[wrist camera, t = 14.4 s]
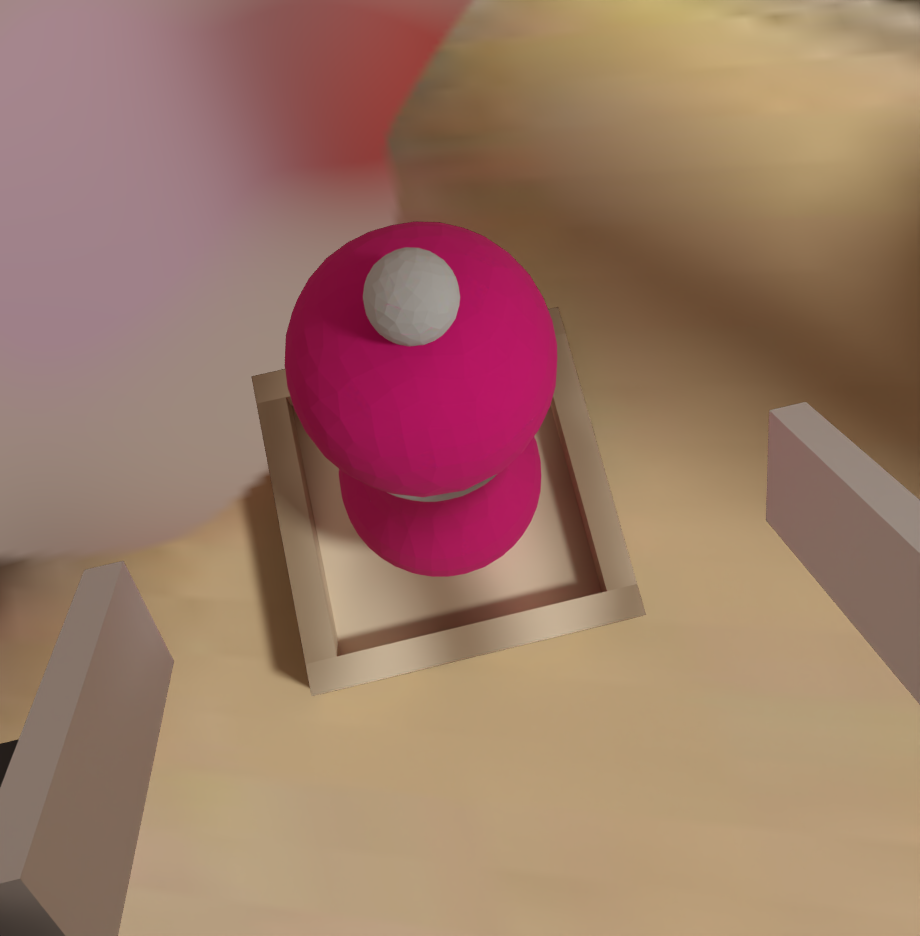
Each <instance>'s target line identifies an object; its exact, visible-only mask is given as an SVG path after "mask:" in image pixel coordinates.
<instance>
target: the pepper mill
mask: <svg viewBox="0 0 920 936" xmlns="http://www.w3.org/2000/svg"><path fill="white" fill-rule="evenodd" d="M285 371H286V379H287V387H288V390H289V393H290V397H291V400H292V403H293V406H294V410H295V412H296V414H297V416H298V418H299V420H300V422H301V424H302V426H303V428H304V430H305V432H306V433H307V434H308V436H309V437H310V438H311V440H312V441H313V442H314V443H315V445H316V446H317V447H318V449H319V450H320V451H321V453H322V454H323V455H324V457H326V458H327V459H328V460H329V461H330V462H332V463H333V464H334V465H335V466H336V467H338V468H339V481H340V488H341V495H342V500H343V503H344V506H345V509H346V512H347V514H348V517H349V519H350V522H351V524H352V525H353V527H354V529H355V530H356V532H357V534H358V535H359V537H360V538H361V539H362V540H363V541H364V542H365V544H366V545H367V546H368V547H369V548H370V549H371V550H372V551H373V552H375V553H376V554H377V555H378V556H379V557H381V558H382V559H384V560H385V561H387V562H389V563H390V564H392V565H394V566H395V567H398V568H401V569H403V570H406V571H408V572H411V573H414V574H419V575H425V576H431V577H449V576H455V575H462V574H466V573H469V572H472V571H475V570H478V569H481V568H484V567H486V566H487V565H489V564H490V563H492V562H494V561H495V560H497V559H499V558H500V557H502V556H503V555H504V554H505V553H506V552H507V551H509V550H510V549H511V548H512V547H513V546H514V545H515V544H516V543H517V541H518V540H519V539H520V538H521V537H522V535H523V534H524V533H525V531H526V529H527V527H528V526H529V524H530V522H531V521H532V518H533V516H534V513H535V511H536V508H537V505H538V501H539V496H540V492H541V460H540V455H539V450H538V446H537V441H536V439H535V437H534V436H535V434H536V433H537V432H538V430H539V428H540V427H541V425H542V423H543V420H544V418H545V416H546V414H547V412H548V410H549V408H550V405H551V401H552V398H553V394H554V390H555V387H556V375H557V341H556V336H555V331H554V326H553V321H552V318H551V316H550V313H549V311H548V308H547V306H546V303H545V301H544V298H543V296H542V295H541V293H540V291H539V290H538V288H537V286H536V285H535V283H534V281H533V280H532V278H531V276H530V275H529V274H528V273H527V272H526V270H525V269H524V268H523V267H522V266H521V265H520V264H519V263H518V262H517V261H516V260H515V259H514V258H513V257H512V256H511V255H510V254H509V253H508V252H507V251H505V250H504V249H502V248H501V247H499V246H498V245H496V244H495V243H493V242H492V241H490V240H489V239H487V238H486V237H484V236H482V235H480V234H477V233H475V232H472V231H470V230H468V229H465V228H462V227H458V226H453V225H449V224H444V223H440V222H409V223H403V224H397V225H391V226H387V227H384V228H381V229H377V230H374V231H371V232H368V233H366V234H364V235H362V236H360V237H358V238H356V239H354V240H352V241H350V242H348V243H346V244H345V245H344V246H342V247H341V248H340V249H338V250H337V251H336V252H334V253H333V254H332V255H330V256H329V257H328V258H326V260H325V261H324V262H323V263H322V264H321V265H320V266H319V268H318V269H317V270H316V271H315V272H314V273H313V275H312V276H311V277H310V278H309V280H308V282H307V283H306V285H305V287H304V289H303V290H302V292H301V294H300V296H299V298H298V300H297V302H296V304H295V307H294V309H293V312H292V315H291V319H290V323H289V326H288V330H287V334H286V349H285Z"/></svg>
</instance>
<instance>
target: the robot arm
mask: <svg viewBox="0 0 920 936" xmlns="http://www.w3.org/2000/svg"><path fill="white" fill-rule="evenodd" d="M766 521H767V522H768V523H769V524H770V525H771V527H772V528H773V529H774V530H775V531H776V533H777V534H778V535H779V536H780V537H781V539H782V540H783V541H784V542H785V543H786V545H787V546H788V547H789V548H790V549H791V551H792V552H793V553H794V554H795V555H796V557H797V558H798V559H799V560H800V561H801V563H802V564H803V565H804V566H805V567H806V569H807V570H808V571H809V572H810V573H811V575H812V576H813V577H814V578H815V579H816V581H817V582H818V583H819V584H820V585H821V587H822V588H823V589H824V590H825V591H826V593H827V594H828V595H829V596H830V597H831V599H832V600H833V601H834V602H835V603H836V605H837V606H838V607H839V608H840V609H841V611H842V612H843V613H844V614H845V615H846V617H847V618H848V619H849V620H850V621H851V623H852V624H853V625H854V626H855V627H856V629H857V630H858V631H859V632H860V633H861V635H862V636H863V637H864V638H865V639H866V641H867V642H868V643H869V644H870V645H871V647H872V648H873V649H874V650H875V651H876V653H877V654H878V655H879V656H880V657H881V659H882V660H883V661H884V662H885V663H886V665H887V666H888V667H889V668H890V669H891V671H892V672H893V673H894V674H895V675H896V677H897V678H898V679H899V680H900V681H901V683H902V684H903V685H904V686H905V687H906V689H907V690H908V691H909V692H910V693H911V695H912V696H913V697H914V698H915V699H916V701H917V702H918V703H919V704H920V500H919V499H918V498H917V497H916V496H914V495H913V494H912V493H911V492H910V491H909V490H908V489H906V488H905V487H904V486H903V485H902V484H901V483H899V482H898V481H897V480H896V479H895V478H894V477H892V476H891V475H890V474H889V473H888V472H887V471H885V470H884V469H883V468H882V467H881V466H880V465H879V464H877V463H876V462H875V461H874V460H873V459H872V458H870V457H869V456H868V455H867V454H866V453H865V452H863V451H862V450H861V449H860V448H859V447H858V446H856V445H855V444H854V443H853V442H852V441H851V440H850V439H848V438H847V437H846V436H845V435H844V434H843V433H841V432H840V431H839V430H838V429H837V428H836V427H834V426H833V425H832V424H831V423H830V422H829V421H828V420H826V419H825V418H824V417H823V416H822V415H821V414H819V413H818V412H817V411H816V410H815V409H814V408H812V407H811V406H810V405H809V404H808V403H807V402H803V403H799V404H794V405H790V406H786V407H781V408H777V409H773V410H769V436H768V469H767V502H766ZM173 663H174V660H173V658H172V656H171V654H170V652H169V650H168V648H167V646H166V644H165V642H164V640H163V638H162V637H161V635H160V633H159V631H158V629H157V627H156V625H155V623H154V621H153V619H152V617H151V615H150V613H149V611H148V609H147V607H146V605H145V603H144V601H143V599H142V597H141V595H140V593H139V591H138V589H137V587H136V585H135V583H134V581H133V579H132V577H131V575H130V573H129V571H128V569H127V567H126V565H125V563H124V561H120V562H116V563H112V564H108V565H103V566H99V567H95V568H90V569H86V570H84V572H83V575H82V577H81V580H80V582H79V585H78V588H77V590H76V593H75V595H74V598H73V601H72V603H71V606H70V608H69V611H68V614H67V616H66V619H65V621H64V624H63V626H62V629H61V632H60V634H59V637H58V639H57V642H56V645H55V647H54V650H53V652H52V655H51V658H50V660H49V663H48V665H47V668H46V670H45V673H44V676H43V678H42V681H41V683H40V686H39V689H38V691H37V694H36V696H35V699H34V702H33V704H32V707H31V709H30V712H29V714H28V717H27V720H26V722H25V725H24V727H23V730H22V733H21V735H20V738H19V740H14V741H10V742H6V743H2V744H0V936H118V933H119V928H120V923H121V918H122V913H123V908H124V903H125V898H126V893H127V888H128V884H129V879H130V874H131V869H132V864H133V859H134V854H135V849H136V844H137V839H138V835H139V830H140V825H141V820H142V815H143V810H144V805H145V800H146V795H147V790H148V786H149V781H150V776H151V771H152V766H153V761H154V756H155V751H156V746H157V741H158V737H159V732H160V727H161V722H162V717H163V712H164V707H165V702H166V697H167V692H168V687H169V683H170V678H171V673H172V668H173Z"/></svg>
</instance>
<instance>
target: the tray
mask: <svg viewBox="0 0 920 936" xmlns="http://www.w3.org/2000/svg"><path fill="white" fill-rule="evenodd" d="M548 311H549V313H550V316H551V318H552V321H553V326H554V331H555V336H556V341H557V375H556V387H555V390H554V394H553V398H552V401H551V405H550V408H549V410H548V412H547V414H546V416H545V418H544V420H543V423H542V425H541V427H540V428H539V430H538V432H537V433H536V434H535V436H534V437H535V439H536V441H537V446H538V450H539V455H540V460H541V492H540V496H539V501H538V505H537V508H536V511H535V513H534V516H533V518H532V521H531V522H530V524H529V526H528V527H527V529H526V531H525V533H524V534H523V535H522V537H521V538H520V539H519V540H518V541H517V543H516V544H515V545H514V546H513V547H512V548H511V549H510V550H509V551H507V552H506V553H505V554H504V555H503V556H502V557H500V558H499V559H497V560H495V561H494V562H492V563H490V564H489V565H487V566H486V567H484V568H481V569H478V570H475V571H472V572H469V573H466V574H462V575H455V576H449V577H431V576H425V575H419V574H414V573H411V572H408V571H406V570H403V569H401V568H398V567H395V566H394V565H392V564H390V563H389V562H387V561H385V560H384V559H382V558H381V557H379V556H378V555H377V554H376V553H375V552H373V551H372V550H371V549H370V548H369V547H368V546H367V545H366V544H365V542H364V541H363V540H362V539H361V538H360V537H359V535H358V534H357V532H356V530H355V529H354V527H353V525H352V524H351V522H350V519H349V517H348V514H347V512H346V509H345V506H344V503H343V500H342V495H341V488H340V481H339V468H338V467H336V466H335V465H334V464H333V463H332V462H330V461H329V460H328V459H327V458H326V457H324V455H323V454H322V453H321V451H320V450H319V449H318V447H317V446H316V445H315V443H314V442H313V441H312V440H311V438H310V437H309V436H308V434H307V433H306V432H305V430H304V428H303V426H302V424H301V422H300V420H299V418H298V416H297V414H296V412H295V410H294V406H293V403H292V400H291V397H290V393H289V390H288V387H287V379H286V371H285V369H282V370H278V371H274V372H269V373H265V374H260V375H256V376H252V382H253V386H254V392H255V398H256V403H257V408H258V414H259V419H260V424H261V429H262V435H263V440H264V446H265V451H266V456H267V462H268V467H269V472H270V478H271V483H272V488H273V494H274V499H275V504H276V510H277V515H278V520H279V526H280V531H281V536H282V542H283V547H284V552H285V557H286V563H287V568H288V573H289V579H290V584H291V589H292V595H293V600H294V605H295V611H296V616H297V621H298V627H299V632H300V637H301V643H302V648H303V653H304V659H305V664H306V669H307V675H308V680H309V685H310V691H311V696H314V695H319V694H324V693H328V692H332V691H336V690H340V689H344V688H348V687H352V686H356V685H361V684H365V683H369V682H373V681H377V680H381V679H385V678H389V677H393V676H398V675H402V674H406V673H410V672H414V671H418V670H422V669H426V668H430V667H435V666H439V665H443V664H447V663H451V662H455V661H459V660H463V659H467V658H472V657H476V656H480V655H484V654H488V653H492V652H496V651H500V650H504V649H509V648H513V647H517V646H521V645H525V644H529V643H533V642H537V641H541V640H546V639H550V638H554V637H558V636H562V635H566V634H570V633H574V632H578V631H582V630H587V629H591V628H595V627H599V626H603V625H607V624H611V623H615V622H619V621H624V620H628V619H632V618H636V617H640V616H643V615H646V613H645V609H644V606H643V602H642V599H641V595H640V592H639V588H638V585H637V581H636V578H635V574H634V571H633V567H632V564H631V560H630V557H629V553H628V550H627V546H626V543H625V539H624V536H623V532H622V529H621V525H620V522H619V518H618V515H617V511H616V508H615V504H614V501H613V497H612V494H611V490H610V487H609V483H608V480H607V476H606V473H605V469H604V466H603V462H602V459H601V455H600V452H599V448H598V445H597V441H596V438H595V434H594V431H593V427H592V424H591V420H590V417H589V413H588V410H587V406H586V403H585V399H584V396H583V392H582V389H581V385H580V382H579V378H578V375H577V371H576V368H575V364H574V361H573V357H572V354H571V350H570V347H569V343H568V340H567V336H566V333H565V329H564V326H563V322H562V319H561V315H560V312H559V308H558V307H556V308H551V309H548Z"/></svg>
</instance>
